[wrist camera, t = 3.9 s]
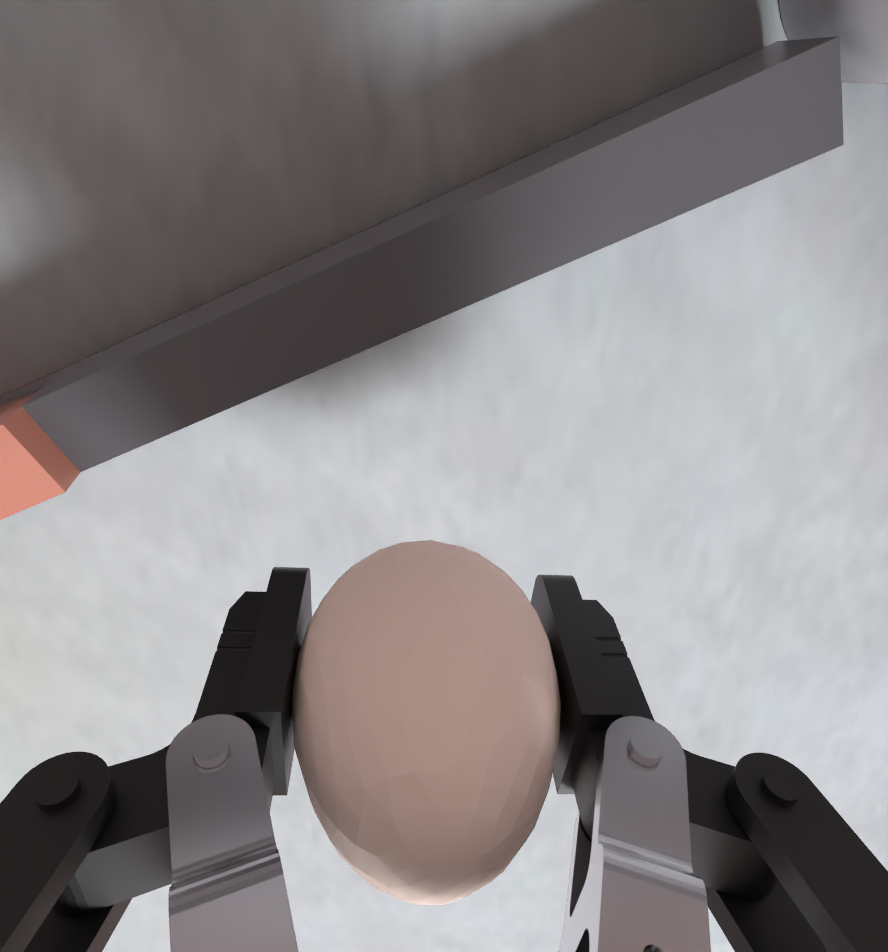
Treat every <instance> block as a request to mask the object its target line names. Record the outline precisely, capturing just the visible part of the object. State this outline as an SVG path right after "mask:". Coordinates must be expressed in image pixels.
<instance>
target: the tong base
mask: <svg viewBox="0 0 888 952" xmlns="http://www.w3.org/2000/svg"><path fill="white" fill-rule="evenodd" d="M779 7H780V13H781V19H782V23H783V27H784V30H785V33H786V36H787V38H788V40H800V39H811V38H823V37H835V36H840V62H841V82H850V83H888V0H779Z"/></svg>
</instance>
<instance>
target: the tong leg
mask: <svg viewBox="0 0 888 952" xmlns="http://www.w3.org/2000/svg"><path fill="white" fill-rule="evenodd" d="M841 145H843V118H842V90H841V62H840V36H835V37H823V38H811V39H800V40H788V41H777V42H775V43H773V44H771V45H769V46H766V47H764V48H762V49H760V50H758V51H755V52H753V53H751V54H749V55H747V56H745V57H742V58H740V59H738V60H736V61H734V62H731V63H729V64H727V65H725V66H723V67H720V68H718V69H716V70H714V71H712V72H710V73H707V74H705V75H703V76H701V77H699V78H696V79H694V80H692V81H690V82H688V83H686V84H683V85H681V86H679V87H677V88H675V89H672V90H670V91H668V92H666V93H664V94H661V95H659V96H657V97H655V98H653V99H651V100H648V101H646V102H644V103H642V104H640V105H637V106H635V107H633V108H631V109H629V110H627V111H624V112H622V113H620V114H618V115H616V116H613V117H611V118H609V119H607V120H605V121H602V122H600V123H598V124H596V125H594V126H592V127H589V128H587V129H585V130H583V131H581V132H578V133H576V134H574V135H572V136H570V137H568V138H565V139H563V140H561V141H559V142H557V143H554V144H552V145H550V146H548V147H546V148H543V149H541V150H539V151H537V152H535V153H533V154H530V155H528V156H526V157H524V158H522V159H519V160H517V161H515V162H513V163H511V164H509V165H506V166H504V167H502V168H500V169H498V170H495V171H493V172H491V173H489V174H487V175H484V176H482V177H480V178H478V179H476V180H474V181H471V182H469V183H467V184H465V185H463V186H460V187H458V188H456V189H454V190H452V191H450V192H447V193H445V194H443V195H441V196H439V197H436V198H434V199H432V200H430V201H428V202H425V203H423V204H421V205H419V206H417V207H415V208H412V209H410V210H408V211H406V212H404V213H401V214H399V215H397V216H395V217H393V218H391V219H388V220H386V221H384V222H382V223H380V224H377V225H375V226H373V227H371V228H369V229H366V230H364V231H362V232H360V233H358V234H356V235H353V236H351V237H349V238H347V239H345V240H342V241H340V242H338V243H336V244H334V245H332V246H329V247H327V248H325V249H323V250H321V251H318V252H316V253H314V254H312V255H310V256H307V257H305V258H303V259H301V260H299V261H297V262H294V263H292V264H290V265H288V266H286V267H283V268H281V269H279V270H277V271H275V272H273V273H270V274H268V275H266V276H264V277H262V278H259V279H257V280H255V281H253V282H251V283H248V284H246V285H244V286H242V287H240V288H238V289H235V290H233V291H231V292H229V293H227V294H224V295H222V296H220V297H218V298H216V299H214V300H211V301H209V302H207V303H205V304H203V305H200V306H198V307H196V308H194V309H192V310H189V311H187V312H185V313H183V314H181V315H179V316H176V317H174V318H172V319H170V320H168V321H165V322H163V323H161V324H159V325H157V326H155V327H152V328H150V329H148V330H146V331H144V332H141V333H139V334H137V335H135V336H133V337H130V338H128V339H126V340H124V341H122V342H120V343H117V344H115V345H113V346H111V347H109V348H106V349H104V350H102V351H100V352H98V353H96V354H93V355H91V356H89V357H87V358H85V359H82V360H80V361H78V362H76V363H74V364H71V365H69V366H67V367H65V368H63V369H61V370H58V371H56V372H54V373H52V374H50V375H47V376H45V377H43V378H41V379H39V380H37V381H34V382H32V383H30V384H28V385H26V386H23V387H21V388H19V389H17V390H15V391H12V392H10V393H8V394H6V395H4V396H2V397H0V520H1V519H3V518H6V517H8V516H10V515H13V514H15V513H17V512H20V511H22V510H24V509H27V508H29V507H31V506H34V505H36V504H38V503H41V502H43V501H45V500H48V499H50V498H53V497H55V496H57V495H60V494H62V493H64V492H66V491H67V489H68V488H69V487H70V485H71V484H72V483H73V481H74V480H75V479H76V477H77V476H78V475H79V473H80V472H82V471H84V470H86V469H89V468H91V467H93V466H96V465H98V464H100V463H103V462H105V461H107V460H110V459H112V458H114V457H117V456H119V455H121V454H124V453H126V452H128V451H131V450H133V449H135V448H138V447H140V446H142V445H145V444H147V443H149V442H152V441H154V440H156V439H159V438H161V437H163V436H166V435H168V434H170V433H173V432H175V431H177V430H180V429H182V428H184V427H187V426H189V425H191V424H194V423H196V422H198V421H201V420H203V419H205V418H208V417H210V416H212V415H215V414H217V413H219V412H222V411H224V410H226V409H229V408H231V407H233V406H236V405H238V404H240V403H243V402H245V401H247V400H250V399H252V398H254V397H257V396H259V395H261V394H264V393H266V392H268V391H270V390H273V389H275V388H277V387H280V386H282V385H284V384H287V383H289V382H291V381H294V380H296V379H298V378H301V377H303V376H305V375H308V374H310V373H312V372H315V371H317V370H319V369H322V368H324V367H326V366H329V365H331V364H333V363H336V362H338V361H340V360H343V359H345V358H347V357H350V356H352V355H354V354H357V353H359V352H361V351H364V350H366V349H368V348H371V347H373V346H375V345H378V344H380V343H382V342H385V341H387V340H389V339H392V338H394V337H396V336H399V335H401V334H403V333H406V332H408V331H410V330H413V329H415V328H417V327H420V326H422V325H424V324H427V323H429V322H431V321H434V320H436V319H438V318H441V317H443V316H445V315H448V314H450V313H452V312H455V311H457V310H459V309H462V308H464V307H466V306H469V305H471V304H473V303H476V302H478V301H480V300H483V299H485V298H487V297H490V296H492V295H494V294H496V293H499V292H501V291H503V290H506V289H508V288H510V287H513V286H515V285H517V284H520V283H522V282H524V281H527V280H529V279H531V278H534V277H536V276H538V275H541V274H543V273H545V272H548V271H550V270H552V269H555V268H557V267H559V266H562V265H564V264H566V263H569V262H571V261H573V260H576V259H578V258H580V257H583V256H585V255H587V254H590V253H592V252H594V251H597V250H599V249H601V248H604V247H606V246H608V245H611V244H613V243H615V242H618V241H620V240H622V239H625V238H627V237H629V236H632V235H634V234H636V233H639V232H641V231H643V230H646V229H648V228H650V227H653V226H655V225H657V224H660V223H662V222H664V221H667V220H669V219H671V218H674V217H676V216H678V215H681V214H683V213H685V212H688V211H690V210H692V209H695V208H697V207H699V206H702V205H704V204H706V203H709V202H711V201H713V200H716V199H718V198H720V197H722V196H725V195H727V194H729V193H732V192H734V191H736V190H739V189H741V188H743V187H746V186H748V185H750V184H753V183H755V182H757V181H760V180H762V179H764V178H767V177H769V176H771V175H774V174H776V173H778V172H781V171H783V170H785V169H788V168H790V167H792V166H795V165H797V164H799V163H802V162H804V161H806V160H809V159H811V158H813V157H816V156H818V155H820V154H823V153H825V152H827V151H830V150H832V149H834V148H837V147H839V146H841Z"/></svg>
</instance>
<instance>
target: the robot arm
mask: <svg viewBox="0 0 888 952" xmlns="http://www.w3.org/2000/svg"><path fill="white" fill-rule="evenodd" d="M531 604H532V606H533V607H534V609H535V610H536V612H537V614H538V616H539V619H540V621H541V623H542V626H543V628H544V630H545V633H546V635H547V638H548V640H549V642H550V647H551V651H552V656H553V660H554V664H555V669H556V673H557V678H558V686H559V694H560V702H561V711H560V732H559V743H558V748H557V753H556V758H555V763H554V768H553V777H554V781H555V786H556V790H557V794H575V797H576V801H577V805H578V809H579V812H578V815H577V817H576V821H575V826H574V835H573V845H572V854H571V863H570V872H569V882H568V891H567V900H566V910H565V919H564V926H563V932H562V937H561V942H560V946H559V950H558V952H711V946H710V932H709V918H708V907H709V909H710V911H711V912H712V914H713V916H714V917H715V919H716V921H717V922H718V924H719V926H720V927H721V929H722V931H723V932H724V934H725V936H726V937H727V939H728V941H729V942H730V944H731V946H732V947H733V949H734V951H735V952H888V871H887V870H886V869H885V868H884V867H883V865H882V864H881V863H880V862H879V861H878V860H877V858H876V857H875V856H874V855H873V854H872V852H871V851H870V850H869V849H868V848H867V847H866V845H865V844H864V843H863V842H862V841H861V839H860V838H859V837H858V836H857V835H856V834H855V832H854V831H853V830H852V829H851V828H850V826H849V825H848V824H847V823H846V822H845V821H844V819H843V818H842V817H841V816H840V815H839V813H838V812H837V811H836V810H835V809H834V808H833V806H832V805H831V804H830V803H829V802H828V800H827V799H826V798H825V797H824V796H823V795H822V793H821V792H820V791H819V790H818V789H817V787H816V786H815V785H814V784H813V783H812V782H811V780H810V779H809V778H808V777H807V776H806V775H805V774H804V773H803V772H802V771H801V770H799V769H798V768H797V767H795V766H794V765H793V764H791V763H789V762H788V761H786V760H784V759H782V758H780V757H777V756H774V755H771V754H767V753H751V754H748V755H745V756H744V757H742V758H741V759H740V760H739V762H738V763H737V765H736V767H735V766H731V765H728V764H724V763H721V762H718V761H714V760H711V759H708V758H704V757H701V756H698V755H695V754H693V753H690V752H688V751H686V750H684V749H683V748H682V747H681V745H680V743H679V742H678V740H677V739H676V738H675V737H674V735H673V734H672V733H671V732H670V731H668V730H667V729H666V728H665V727H663V726H662V725H660V724H659V723H657V722H655V720H654V718H653V716H652V714H651V711H650V709H649V706H648V704H647V701H646V699H645V696H644V694H643V691H642V689H641V686H640V684H639V681H638V679H637V676H636V674H635V671H634V669H633V666H632V664H631V661H630V659H629V658H628V657H627V651H626V649H625V646H624V644H623V641H621V636H620V634H619V632H618V629H617V627H616V624H615V622H614V619H613V617H612V616H611V615H610V614H609V613H608V612H607V611H606V610H605V609H604V608H603V606H602V605H601V604H600V603H599V602H598V601H597V600H582V598H581V595H580V592H579V589H578V586H577V583H576V581H575V579H574V577H573V576H565V575H538V576H537V578H536V581H535V585H534V590H533V594H532V599H531ZM311 618H312V611H311V581H310V569H309V568H288V567H274V568H273V570H272V573H271V577H270V580H269V584H268V588H267V592H245V593H244V594H243V595H242V596H241V597H240V598H239V599H238V601H237V602H236V603H235V604H234V605H233V606H232V607H231V608H230V609H229V612H228V615H227V618H226V622H225V625H224V628H223V634H221V637H220V640H219V643H218V646H217V651H216V652H215V655H214V659H213V662H212V665H211V668H210V671H209V674H208V677H207V680H206V683H205V686H204V689H203V692H202V696H201V699H200V702H199V705H198V708H197V711H196V714H195V716H194V719H193V721H192V722H191V724H189V725H188V726H186V727H185V728H184V729H183V730H181V731H180V732H179V733H178V734H177V736H176V737H175V738H174V739H173V741H172V742H171V744H170V745H168V746H167V747H165V748H163V749H162V750H159V751H157V752H155V753H153V754H150V755H147V756H144V757H140V758H137V759H133V760H130V761H126V762H123V763H119V764H116V765H113V766H109V767H108V766H107V764H106V763H105V762H104V760H103V759H102V758H100V757H98V756H97V755H94V754H92V753H87V752H70V753H65V754H61V755H58V756H55V757H53V758H50V759H48V760H46V761H44V762H42V763H40V764H39V765H37V766H36V767H34V768H33V769H31V770H30V771H29V772H28V773H27V774H26V775H24V776H23V778H22V779H21V780H20V781H19V782H18V783H17V784H16V785H15V786H14V788H13V789H12V790H11V791H10V792H9V794H8V795H7V796H6V797H5V798H4V800H3V801H2V802H1V803H0V952H102V951H103V949H104V947H105V945H106V944H107V942H108V940H109V938H110V936H111V935H112V933H113V931H114V929H115V928H116V926H117V924H118V922H119V921H120V919H121V917H122V915H123V913H124V912H125V910H126V908H127V906H128V905H129V903H130V901H131V899H132V898H133V897H136V896H139V895H141V894H144V893H147V892H150V891H152V890H155V889H158V888H161V887H163V886H166V885H169V884H172V886H171V887H170V889H169V926H170V946H171V952H298V947H297V942H296V937H295V932H294V926H293V921H292V916H291V911H290V906H289V901H288V895H287V890H286V885H285V880H284V875H283V870H282V865H281V860H280V855H279V852H278V849H277V847H276V843H275V838H274V833H273V828H272V823H271V817H270V807H271V801H272V796H273V795H287V792H288V786H289V779H290V773H291V767H292V760H293V754H294V740H293V720H292V700H293V686H294V679H295V672H296V665H297V658H298V654H299V651H300V648H301V645H302V642H303V638H304V635H305V632H306V629H307V626H308V624H309V622H310V620H311Z"/></svg>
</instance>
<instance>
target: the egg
mask: <svg viewBox="0 0 888 952" xmlns="http://www.w3.org/2000/svg"><path fill="white" fill-rule="evenodd" d="M560 711H561V702H560V694H559V686H558V678H557V673H556V669H555V664H554V660H553V656H552V651H551V647H550V642H549V640H548V638H547V635H546V633H545V630H544V628H543V626H542V623H541V621H540V619H539V616H538V614H537V612H536V610H535V609H534V607H533V606H532V604H531V603H530V601H529V600H528V598H527V597H526V595H525V594H524V592H523V591H522V589H521V588H520V587H519V586H518V585H517V584H516V583H515V582H514V581H513V580H512V579H511V578H510V577H509V576H508V574H507V573H506V572H505V571H503V570H502V569H500V568H499V567H497V566H496V565H494V564H493V563H492V562H490V561H489V560H487V559H486V558H484V557H483V556H481V555H480V554H478V553H476V552H473V551H471V550H468V549H466V548H464V547H460V546H455V545H450V544H446V543H441V542H437V541H432V540H428V541H416V542H404V543H399V544H396V545H393V546H390V547H387V548H384V549H381V550H378V551H377V552H375V553H373V554H372V555H370V556H368V557H367V558H365V559H363V560H361V561H360V562H358V563H356V564H355V565H353V566H352V567H351V568H350V569H349V570H348V571H346V572H345V573H344V574H343V575H342V576H341V577H340V578H339V579H338V580H337V581H336V583H335V584H334V585H333V586H332V588H331V589H330V590H329V592H328V593H327V594H326V596H325V597H324V598H323V600H322V601H321V603H320V605H319V606H318V608H317V610H316V612H315V613H314V615H313V617H312V618H311V620H310V622H309V624H308V626H307V629H306V632H305V635H304V638H303V642H302V645H301V648H300V651H299V654H298V658H297V665H296V672H295V679H294V686H293V700H292V720H293V740H294V748H295V751H296V754H297V758H298V761H299V764H300V767H301V771H302V774H303V777H304V781H305V784H306V787H307V791H308V794H309V797H310V800H311V803H312V806H313V809H314V811H315V813H316V815H317V817H318V819H319V821H320V823H321V824H322V826H323V828H324V830H325V832H326V833H327V835H328V837H329V839H330V841H331V842H332V844H333V846H334V847H335V849H336V850H337V852H338V854H339V855H340V857H341V858H343V859H344V860H345V861H346V862H347V863H348V864H349V865H350V866H351V867H352V868H353V869H354V870H355V871H356V872H357V873H358V874H359V875H360V876H361V877H362V878H363V879H364V880H365V881H366V882H367V883H368V884H369V885H371V886H373V887H374V888H376V889H378V890H379V891H381V892H384V893H386V894H388V895H391V896H393V897H395V898H398V899H400V900H403V901H406V902H410V903H413V904H417V905H445V904H448V903H450V902H453V901H456V900H459V899H461V898H464V897H467V896H469V895H471V894H472V893H474V892H475V891H477V890H479V889H480V888H482V887H483V886H485V885H487V884H488V883H490V882H491V881H493V880H494V879H495V878H496V877H497V876H499V875H500V874H501V873H502V872H503V871H504V870H505V869H506V867H507V866H508V864H509V863H510V862H511V860H512V859H513V858H514V856H515V855H516V854H517V852H518V851H519V850H520V848H521V847H522V846H523V844H524V843H525V841H526V840H527V838H528V837H529V835H530V834H531V832H532V830H533V829H534V827H535V825H536V822H537V819H538V817H539V814H540V811H541V809H542V806H543V803H544V801H545V798H546V796H547V793H548V790H549V787H550V782H551V777H552V772H553V768H554V763H555V758H556V753H557V748H558V743H559V732H560Z"/></svg>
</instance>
